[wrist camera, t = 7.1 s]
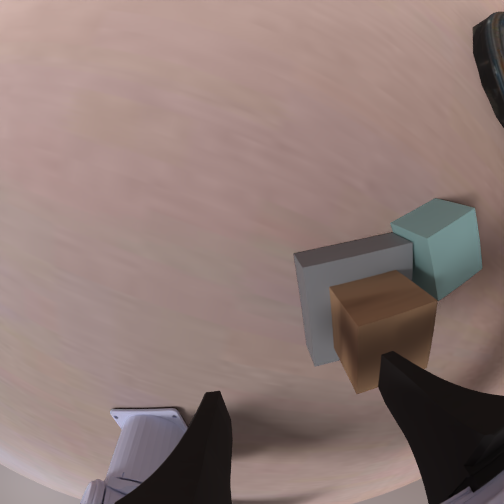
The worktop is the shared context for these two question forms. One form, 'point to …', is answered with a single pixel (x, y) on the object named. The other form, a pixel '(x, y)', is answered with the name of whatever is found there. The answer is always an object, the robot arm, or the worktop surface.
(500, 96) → the beer stein
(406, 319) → the walnut cube
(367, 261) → the base block
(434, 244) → the teal cube
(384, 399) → the robot arm
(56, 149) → the worktop surface
